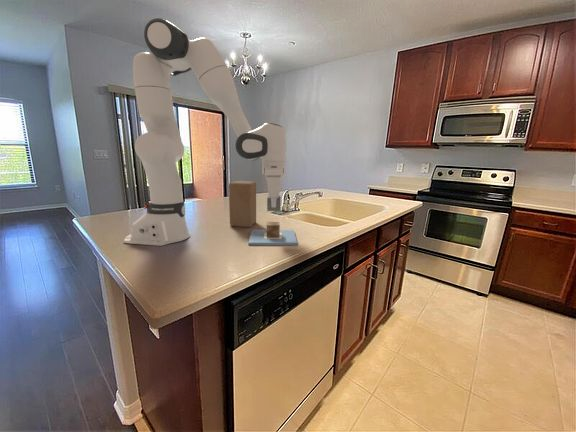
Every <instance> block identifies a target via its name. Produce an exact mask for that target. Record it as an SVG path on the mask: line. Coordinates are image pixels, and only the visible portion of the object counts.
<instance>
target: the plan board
mask: <svg viewBox="0 0 576 432" xmlns="http://www.w3.org/2000/svg"><path fill="white" fill-rule="evenodd" d="M247 245H248V246H298V242H297V237H296V233H295V230H294V229H280V234H279V238H267V229H251V232H250V235H249V239H248V244H247Z"/></svg>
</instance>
